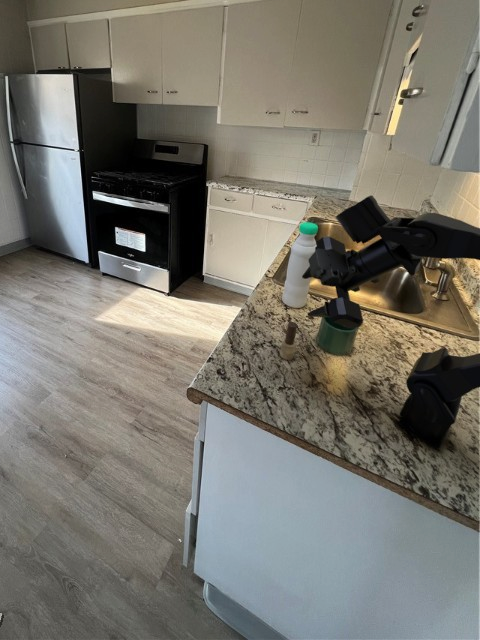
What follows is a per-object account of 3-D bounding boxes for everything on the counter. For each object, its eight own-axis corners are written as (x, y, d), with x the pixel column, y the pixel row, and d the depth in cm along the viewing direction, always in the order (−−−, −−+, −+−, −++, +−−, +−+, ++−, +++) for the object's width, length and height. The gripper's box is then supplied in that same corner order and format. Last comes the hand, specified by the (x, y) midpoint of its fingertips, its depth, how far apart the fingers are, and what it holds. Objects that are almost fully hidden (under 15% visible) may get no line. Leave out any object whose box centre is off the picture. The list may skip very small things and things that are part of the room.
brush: (296, 356, 74) (303, 325, 70) (288, 362, 72) (294, 331, 68) (284, 348, 76) (290, 318, 72) (276, 354, 74) (282, 323, 70)
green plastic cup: (357, 345, 78) (365, 322, 75) (341, 360, 73) (349, 336, 70) (326, 328, 84) (332, 307, 81) (310, 341, 79) (315, 318, 76)
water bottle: (280, 294, 98) (293, 219, 88) (303, 297, 98) (319, 220, 87) (283, 307, 92) (298, 227, 81) (307, 310, 91) (326, 229, 80)
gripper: (329, 207, 59) (274, 248, 70) (350, 295, 48) (280, 326, 60) (369, 229, 63) (310, 264, 74) (397, 314, 52) (323, 340, 63)
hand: (306, 295), depth 68 cm, fingers open, 9 cm apart
